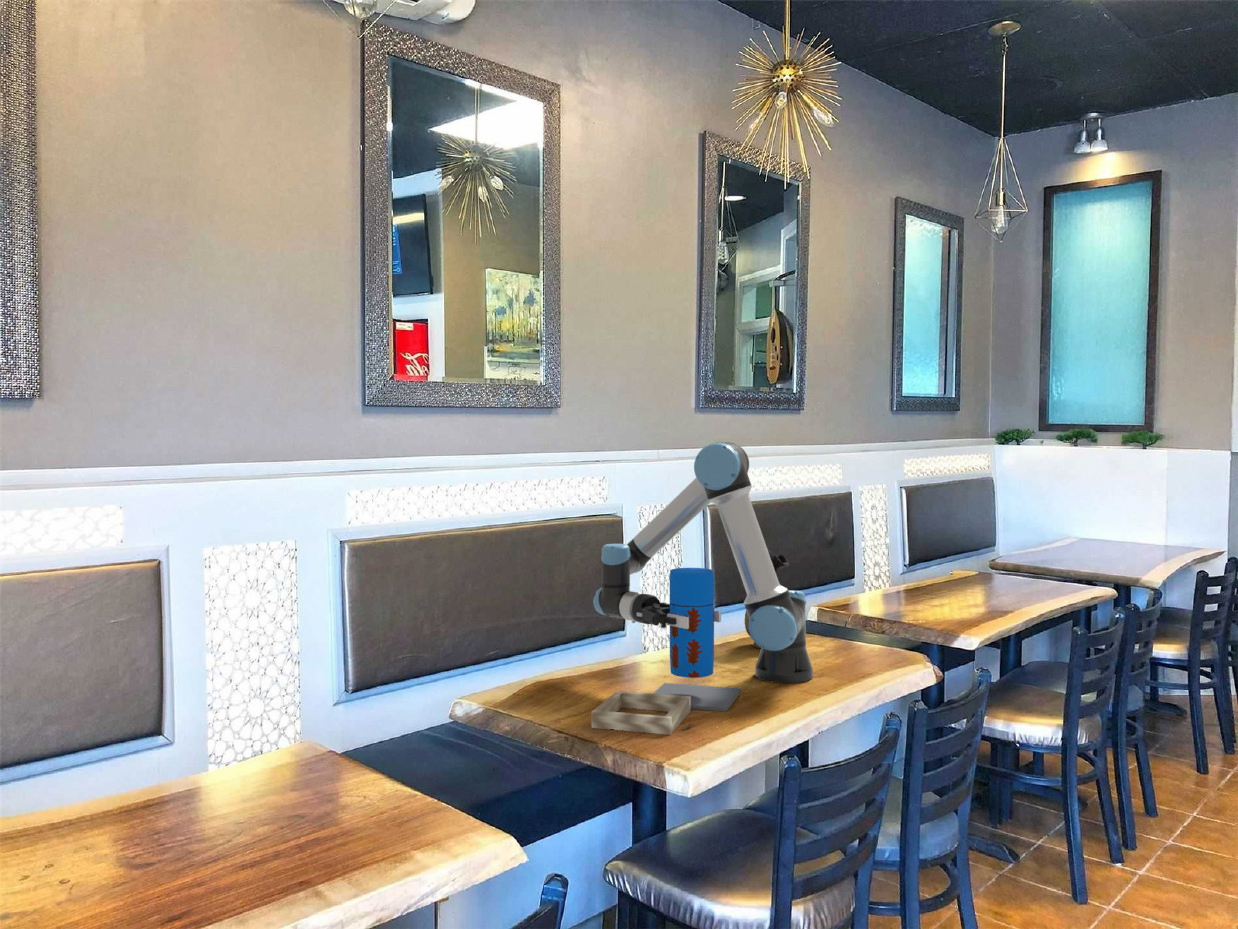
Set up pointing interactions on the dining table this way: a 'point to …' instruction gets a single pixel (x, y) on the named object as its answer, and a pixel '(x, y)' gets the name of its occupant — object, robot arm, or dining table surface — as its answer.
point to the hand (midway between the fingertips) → (704, 619)
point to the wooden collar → (611, 719)
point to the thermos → (692, 622)
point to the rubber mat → (703, 695)
